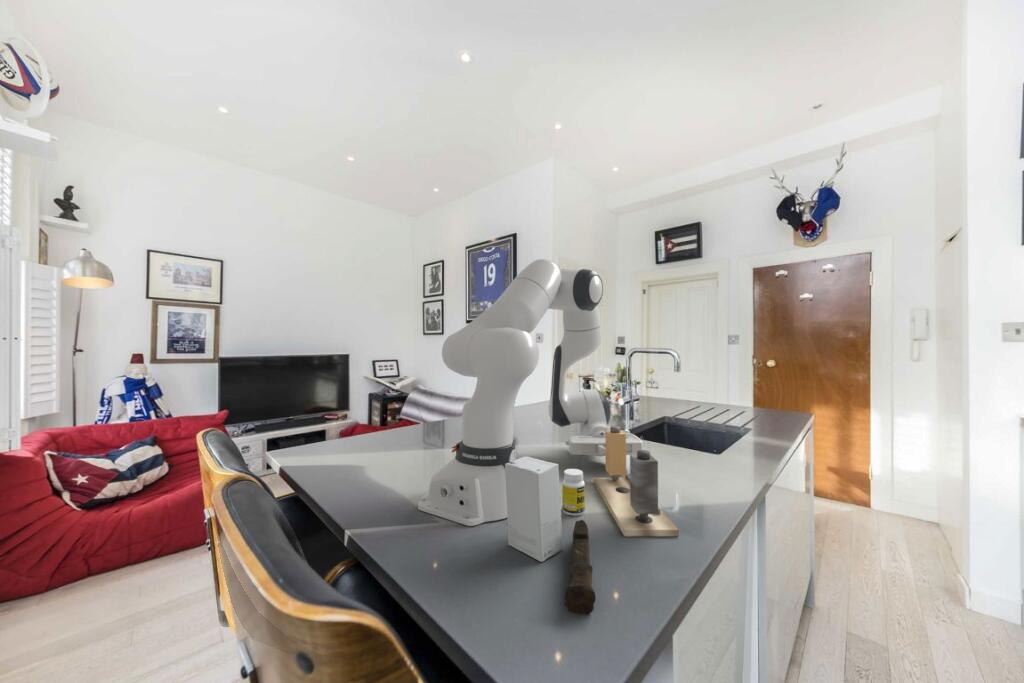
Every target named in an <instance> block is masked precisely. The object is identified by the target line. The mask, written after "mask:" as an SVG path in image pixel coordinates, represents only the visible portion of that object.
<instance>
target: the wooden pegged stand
mask: <svg viewBox="0 0 1024 683" xmlns="http://www.w3.org/2000/svg"><path fill="white" fill-rule="evenodd" d="M658 464H659V461H658V460H657V459H656V458H654V457H653V456H652V455H651V452H650V451H649V450H647V449H646V450H644V449H643V450H638V451H637V455H629V473H626V475H624V477H619V480H613V479H612V477H593V484H594V486H595V487H596V489H597V491H598V492H599V494H600V497H602V499H603V501H604V503H605V505H606V507H607V508H608V510H609V512H610V515H611V516H612V517H613V519H614V521H615V522H616V525H617V526H618V528H619V529H620V531H621V533H622V535H623V536H624V537H679V536H680V535H679V529H678V527H677V526H676V525H675V524H674V522H672V520H671V519H670V518H669V517H668V516H667V515H666V514H665V512H664V511H663V510H662V509H661V508H660V507H659V465H658Z"/></svg>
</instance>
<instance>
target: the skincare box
mask: <svg viewBox="0 0 1024 683" xmlns="http://www.w3.org/2000/svg"><path fill="white" fill-rule="evenodd" d="M559 468H560V467H559V464H558V463H554V462H549V461H546V460H542V459H538V458H533V457H530V456H521V457H519V458H516V460H514V461H511V462H509V463H506V464H505V476H506V498H507V537H508V540H507V541H508V546H510V547H512V548H514V549H516V550H518V551H520V552H522V553H524V554H526V555H528V556H529V557H531V558H533V559H534V560H536V561H539V562H540V563H542V562H545V561H546V560H547V559H548V558H550V557H552V556H555V555H556V554H557V553H559V552H561V551H562V550H563V531H562V530H563V528H562V509H561V508H562V506H561V492H560V476H559V475H560V473H559Z"/></svg>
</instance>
